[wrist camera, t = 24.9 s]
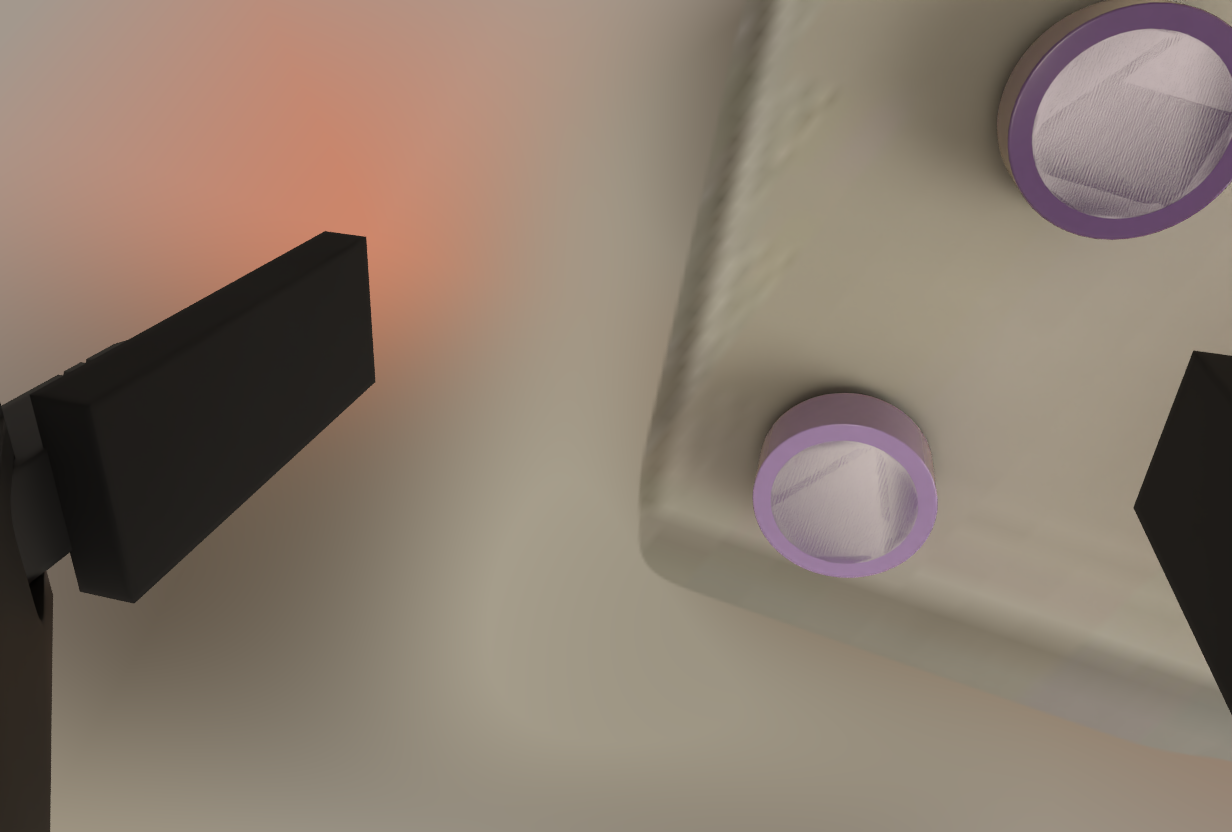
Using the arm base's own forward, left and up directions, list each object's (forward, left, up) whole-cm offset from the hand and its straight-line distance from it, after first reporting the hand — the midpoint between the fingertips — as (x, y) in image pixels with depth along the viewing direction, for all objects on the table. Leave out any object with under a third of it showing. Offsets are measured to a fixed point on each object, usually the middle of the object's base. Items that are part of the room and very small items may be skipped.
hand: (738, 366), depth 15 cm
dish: (+4, -16, -27) cm, 31 cm away
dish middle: (+11, +1, -27) cm, 29 cm away
